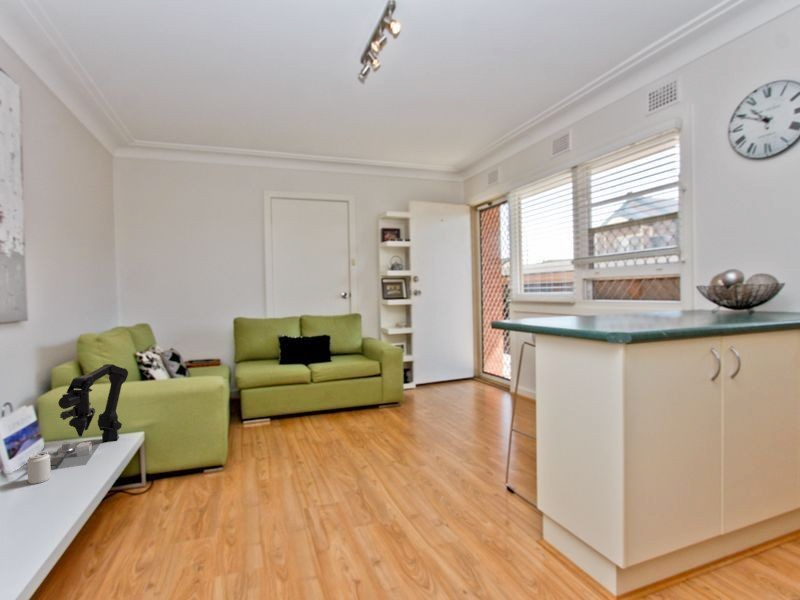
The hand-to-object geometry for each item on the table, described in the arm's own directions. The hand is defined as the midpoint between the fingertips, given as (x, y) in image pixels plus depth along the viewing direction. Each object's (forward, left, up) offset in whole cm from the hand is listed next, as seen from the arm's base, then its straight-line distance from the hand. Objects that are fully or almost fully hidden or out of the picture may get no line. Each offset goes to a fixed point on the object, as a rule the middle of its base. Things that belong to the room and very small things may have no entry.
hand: (83, 433), depth 206 cm
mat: (+5, +1, -11) cm, 12 cm away
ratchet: (+9, +3, -11) cm, 14 cm away
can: (+10, +25, -11) cm, 29 cm away
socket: (0, 0, -10) cm, 11 cm away
